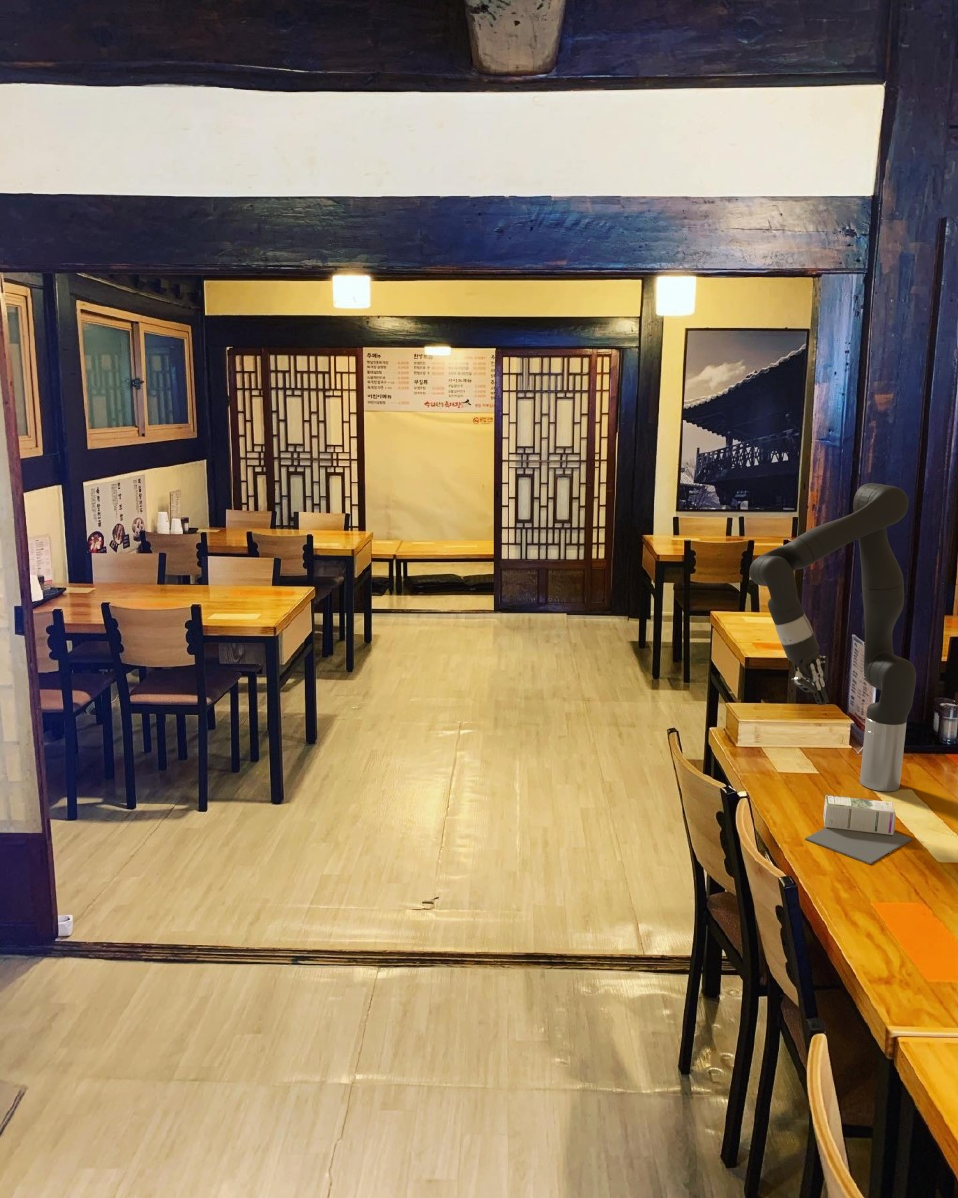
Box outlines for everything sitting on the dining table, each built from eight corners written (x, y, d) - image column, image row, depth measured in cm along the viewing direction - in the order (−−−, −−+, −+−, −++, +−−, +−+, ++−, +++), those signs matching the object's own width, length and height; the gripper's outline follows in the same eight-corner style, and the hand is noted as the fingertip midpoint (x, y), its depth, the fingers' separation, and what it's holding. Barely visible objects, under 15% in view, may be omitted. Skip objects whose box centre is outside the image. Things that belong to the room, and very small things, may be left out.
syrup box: (824, 828, 221) (893, 837, 217) (826, 803, 220) (897, 812, 216) (822, 817, 227) (890, 826, 223) (825, 793, 225) (893, 801, 221)
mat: (848, 817, 228) (848, 815, 228) (911, 840, 217) (911, 838, 217) (805, 839, 216) (805, 838, 216) (870, 864, 205) (870, 863, 205)
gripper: (794, 647, 221) (822, 716, 224) (825, 622, 229) (851, 689, 231) (767, 650, 227) (795, 717, 230) (798, 626, 235) (824, 691, 237)
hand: (823, 703), depth 230 cm, fingers closed
